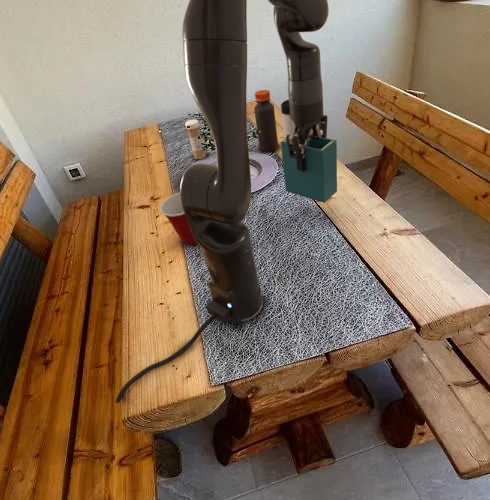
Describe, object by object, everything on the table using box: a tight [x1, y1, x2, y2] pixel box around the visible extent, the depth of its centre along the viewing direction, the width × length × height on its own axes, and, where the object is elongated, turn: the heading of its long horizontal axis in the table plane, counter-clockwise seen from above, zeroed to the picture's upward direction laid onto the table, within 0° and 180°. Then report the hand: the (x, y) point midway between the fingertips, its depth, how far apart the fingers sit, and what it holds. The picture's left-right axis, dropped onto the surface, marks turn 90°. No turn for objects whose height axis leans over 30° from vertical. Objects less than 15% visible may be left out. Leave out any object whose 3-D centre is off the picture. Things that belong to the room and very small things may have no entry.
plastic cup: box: [159, 191, 198, 246], centre depth 101 cm, size 11×11×12 cm
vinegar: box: [253, 89, 279, 153], centre depth 135 cm, size 7×7×20 cm
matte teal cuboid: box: [280, 137, 338, 204], centre depth 97 cm, size 6×14×12 cm
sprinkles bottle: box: [184, 119, 207, 160], centre depth 139 cm, size 5×5×13 cm
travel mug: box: [280, 99, 295, 140], centre depth 125 cm, size 6×7×20 cm
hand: (309, 164), depth 97 cm, fingers closed on matte teal cuboid, 6 cm apart
